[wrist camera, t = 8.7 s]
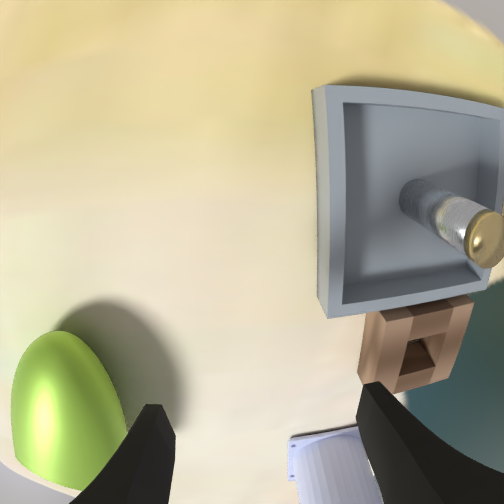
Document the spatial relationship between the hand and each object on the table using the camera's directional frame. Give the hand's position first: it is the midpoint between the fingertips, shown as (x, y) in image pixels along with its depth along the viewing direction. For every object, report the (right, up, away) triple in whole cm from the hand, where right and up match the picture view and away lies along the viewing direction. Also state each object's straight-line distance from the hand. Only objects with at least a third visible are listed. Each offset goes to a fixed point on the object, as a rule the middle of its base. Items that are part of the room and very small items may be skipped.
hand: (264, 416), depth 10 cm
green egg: (-16, -7, +13) cm, 22 cm away
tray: (+9, +9, +7) cm, 15 cm away
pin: (+9, +9, +6) cm, 14 cm away
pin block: (+11, 0, +11) cm, 15 cm away
